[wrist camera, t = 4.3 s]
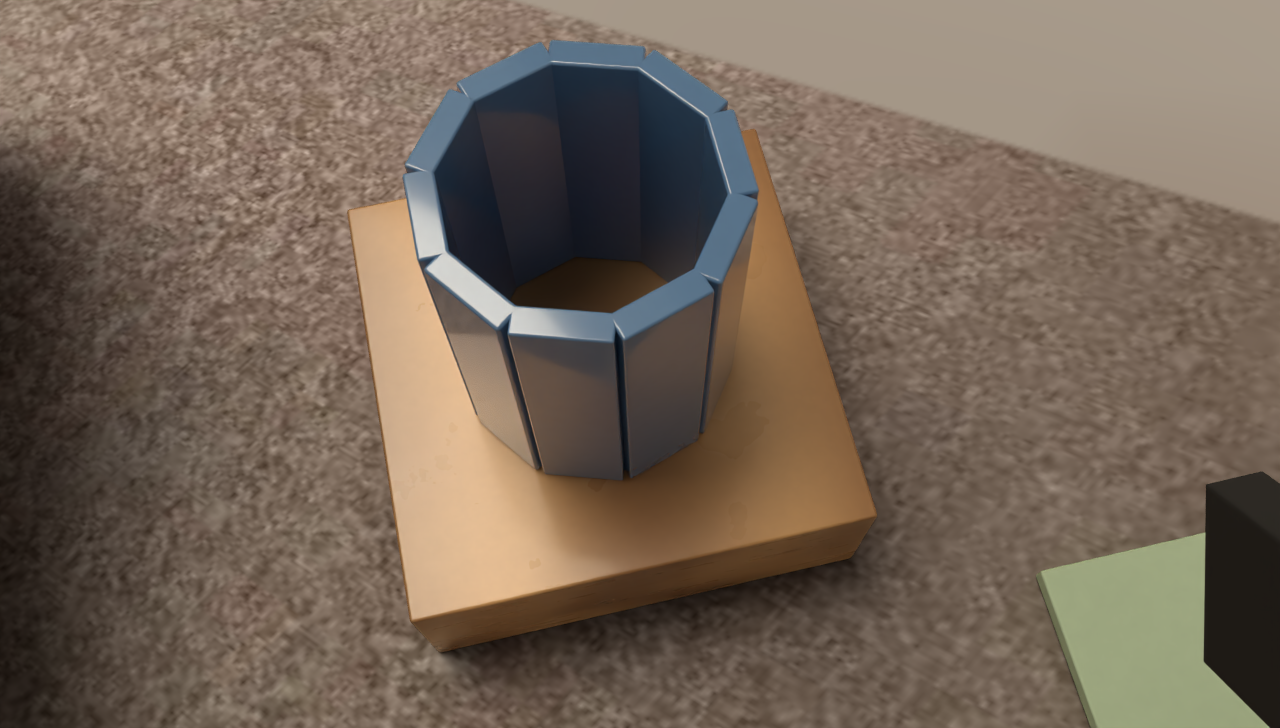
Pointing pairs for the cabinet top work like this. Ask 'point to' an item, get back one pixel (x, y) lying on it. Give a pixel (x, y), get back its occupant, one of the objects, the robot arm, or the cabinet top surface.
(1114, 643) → the mat
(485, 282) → the blue planter
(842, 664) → the cabinet top surface
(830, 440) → the wooden block
